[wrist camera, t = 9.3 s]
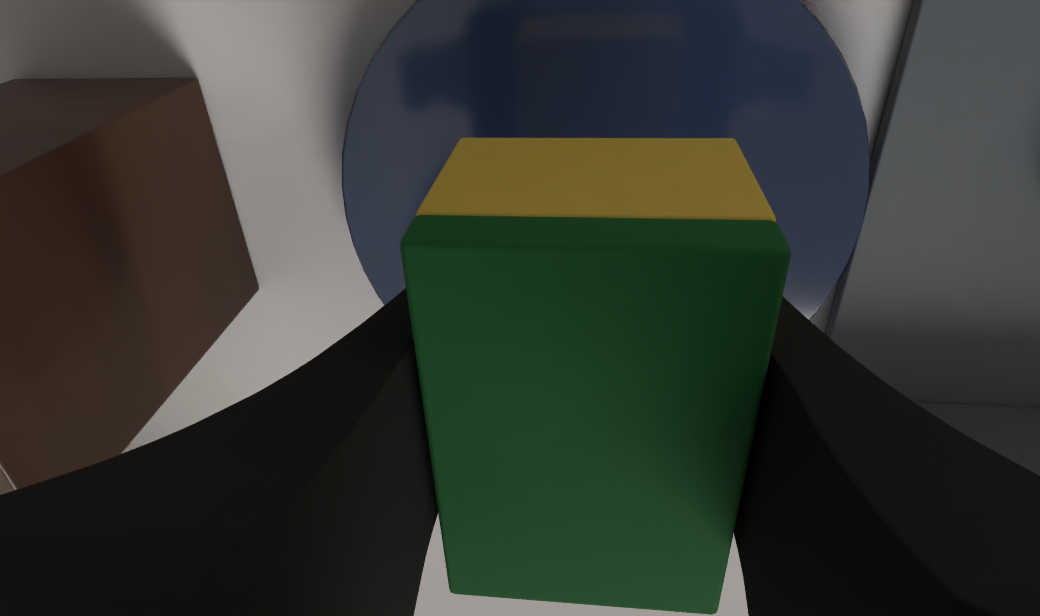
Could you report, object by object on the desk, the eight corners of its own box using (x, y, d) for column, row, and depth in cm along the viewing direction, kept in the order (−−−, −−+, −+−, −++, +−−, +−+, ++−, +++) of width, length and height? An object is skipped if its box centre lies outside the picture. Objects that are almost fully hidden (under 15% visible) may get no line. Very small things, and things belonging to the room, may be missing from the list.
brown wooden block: (104, 284, 18) (-188, 523, 11) (13, 79, 15) (-455, 239, 8) (260, 289, 18) (49, 541, 11) (198, 77, 15) (-144, 247, 8)
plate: (393, 375, 19) (381, 403, 18) (314, -71, 13) (289, -67, 12) (796, 392, 18) (808, 424, 17) (919, -92, 12) (948, -88, 11)
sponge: (484, 436, 13) (448, 596, 10) (459, 136, 10) (396, 240, 7) (692, 447, 13) (718, 617, 10) (736, 136, 9) (795, 249, 6)
